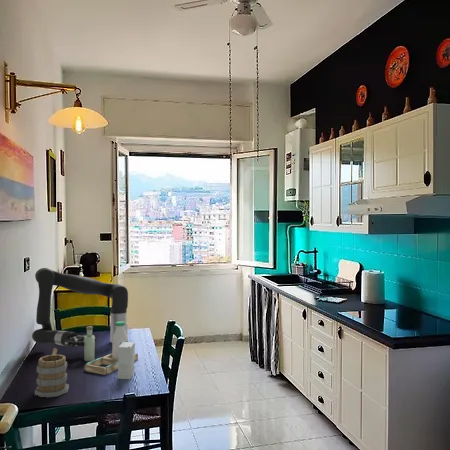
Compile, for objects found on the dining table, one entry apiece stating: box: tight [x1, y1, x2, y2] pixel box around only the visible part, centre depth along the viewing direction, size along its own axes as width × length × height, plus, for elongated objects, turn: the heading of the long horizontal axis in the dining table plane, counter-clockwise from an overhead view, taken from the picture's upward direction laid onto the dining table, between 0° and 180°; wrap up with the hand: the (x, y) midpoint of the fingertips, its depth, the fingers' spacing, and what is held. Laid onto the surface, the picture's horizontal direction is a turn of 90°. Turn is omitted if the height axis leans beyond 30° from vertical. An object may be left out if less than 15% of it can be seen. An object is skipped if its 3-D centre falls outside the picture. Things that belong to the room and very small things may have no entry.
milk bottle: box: [111, 321, 129, 359], centre depth 227 cm, size 8×8×20 cm
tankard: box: [34, 347, 70, 398], centre depth 190 cm, size 20×13×15 cm, turn 12°
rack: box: [84, 353, 139, 376], centre depth 221 cm, size 25×12×3 cm, turn 156°
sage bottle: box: [83, 325, 96, 362], centre depth 230 cm, size 5×5×17 cm
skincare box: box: [117, 341, 136, 380], centre depth 205 cm, size 8×6×15 cm
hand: (89, 342), depth 229 cm, fingers open, 8 cm apart
